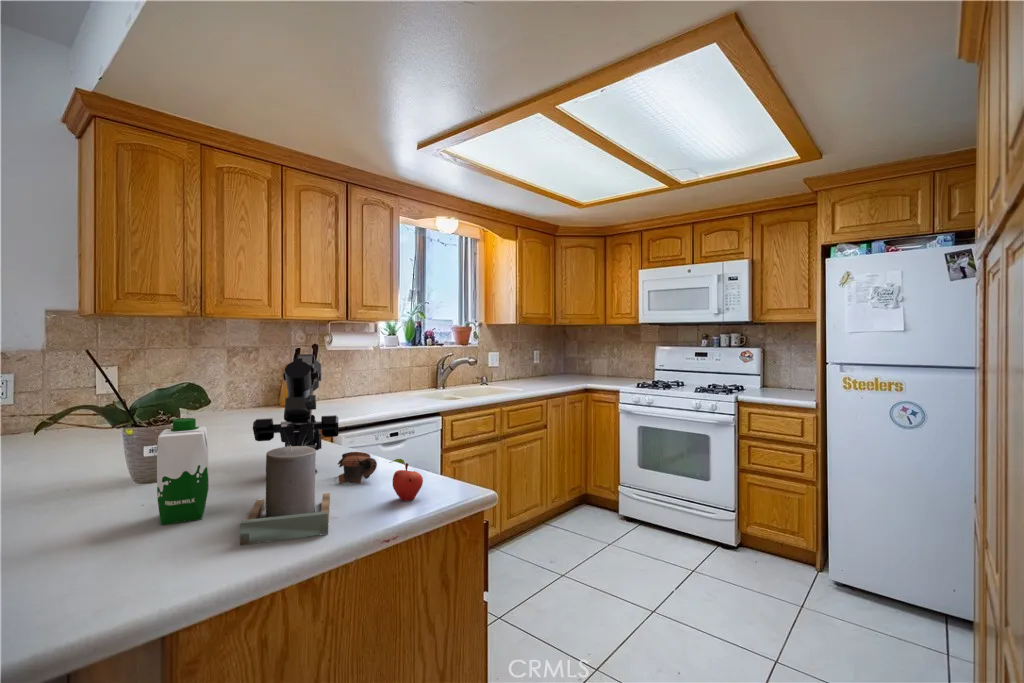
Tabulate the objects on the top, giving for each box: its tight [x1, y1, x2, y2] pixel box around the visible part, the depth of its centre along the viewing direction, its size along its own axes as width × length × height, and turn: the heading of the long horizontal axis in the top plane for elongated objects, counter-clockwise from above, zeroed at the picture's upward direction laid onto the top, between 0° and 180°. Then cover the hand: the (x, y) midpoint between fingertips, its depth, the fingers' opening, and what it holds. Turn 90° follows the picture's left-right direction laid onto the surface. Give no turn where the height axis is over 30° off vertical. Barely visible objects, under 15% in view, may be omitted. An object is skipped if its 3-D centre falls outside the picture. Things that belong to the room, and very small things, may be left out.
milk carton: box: [155, 417, 209, 526], centre depth 102 cm, size 9×9×20 cm
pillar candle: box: [264, 445, 317, 518], centre depth 103 cm, size 10×10×15 cm
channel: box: [239, 492, 331, 546], centre depth 100 cm, size 19×15×4 cm
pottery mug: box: [337, 451, 378, 484], centre depth 129 cm, size 12×10×8 cm
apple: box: [389, 458, 424, 502], centre depth 113 cm, size 8×7×10 cm
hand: (295, 458), depth 112 cm, fingers closed
